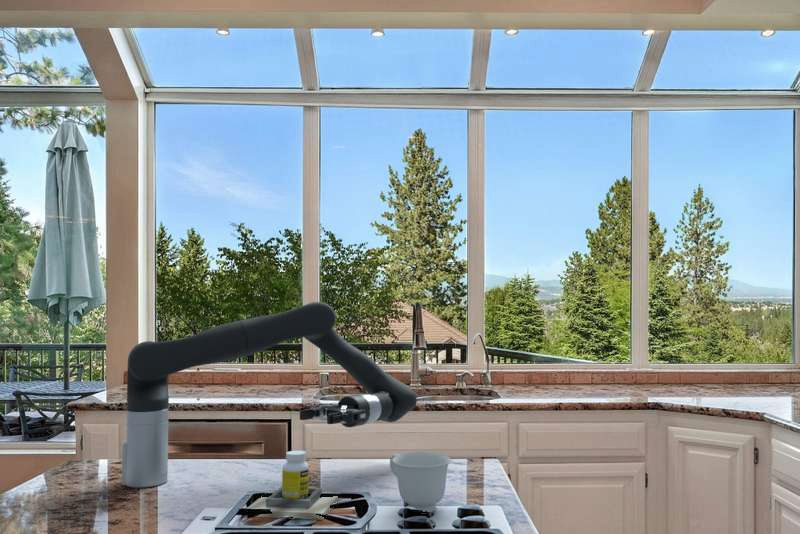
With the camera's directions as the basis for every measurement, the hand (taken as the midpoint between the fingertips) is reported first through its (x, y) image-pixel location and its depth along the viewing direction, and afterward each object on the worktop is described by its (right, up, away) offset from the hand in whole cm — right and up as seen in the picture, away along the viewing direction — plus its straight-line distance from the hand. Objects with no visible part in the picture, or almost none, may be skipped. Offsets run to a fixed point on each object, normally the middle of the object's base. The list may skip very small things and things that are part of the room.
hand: (314, 417), depth 144 cm
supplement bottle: (-2, -14, -13) cm, 20 cm away
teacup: (+23, -15, -15) cm, 31 cm away
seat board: (-2, -15, -14) cm, 20 cm away
